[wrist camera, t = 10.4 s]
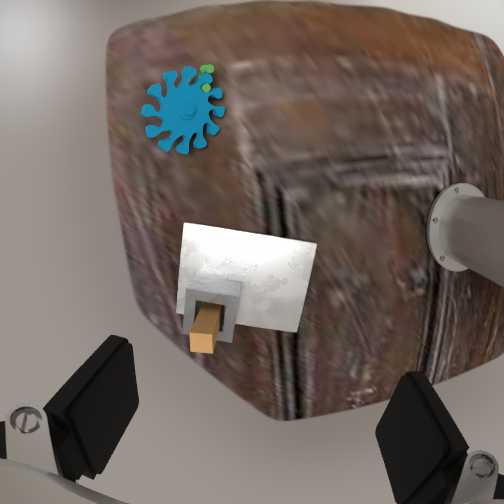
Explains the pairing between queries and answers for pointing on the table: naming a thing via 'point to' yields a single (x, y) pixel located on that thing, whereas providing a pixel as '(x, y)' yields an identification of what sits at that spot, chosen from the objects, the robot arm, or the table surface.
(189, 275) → the grey square socket base
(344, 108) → the table surface
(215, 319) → the tan square peg
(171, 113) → the blue spiky virus toy
